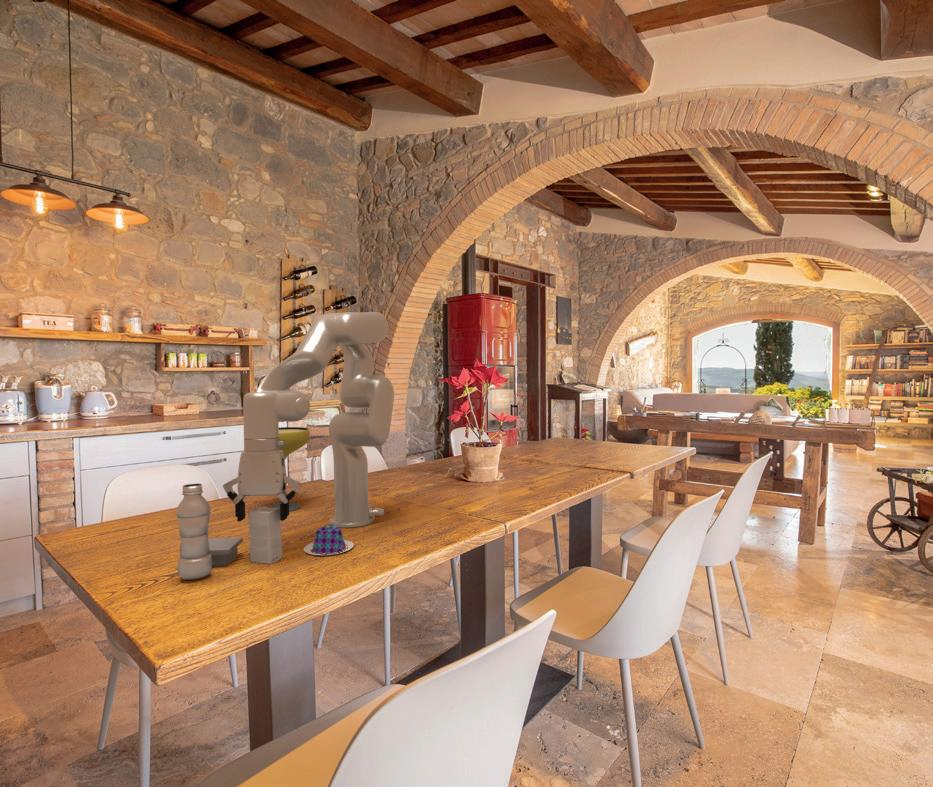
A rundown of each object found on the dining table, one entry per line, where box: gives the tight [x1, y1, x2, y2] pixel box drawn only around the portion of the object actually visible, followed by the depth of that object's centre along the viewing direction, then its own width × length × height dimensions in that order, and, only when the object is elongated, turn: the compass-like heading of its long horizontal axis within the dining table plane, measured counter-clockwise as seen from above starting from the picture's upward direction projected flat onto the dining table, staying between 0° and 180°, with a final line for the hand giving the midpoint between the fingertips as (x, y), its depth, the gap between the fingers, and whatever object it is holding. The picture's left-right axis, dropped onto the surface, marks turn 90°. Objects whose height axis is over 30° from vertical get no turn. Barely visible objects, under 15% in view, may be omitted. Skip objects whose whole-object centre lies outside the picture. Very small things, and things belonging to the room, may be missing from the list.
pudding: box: [303, 525, 355, 556], centre depth 135 cm, size 12×12×5 cm
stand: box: [208, 537, 244, 567], centre depth 128 cm, size 10×9×4 cm
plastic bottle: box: [175, 483, 213, 581], centre depth 117 cm, size 6×7×20 cm
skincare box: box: [247, 506, 283, 565], centre depth 127 cm, size 6×4×12 cm
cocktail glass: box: [267, 426, 311, 512], centre depth 175 cm, size 18×18×25 cm
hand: (262, 519), depth 127 cm, fingers open, 9 cm apart
